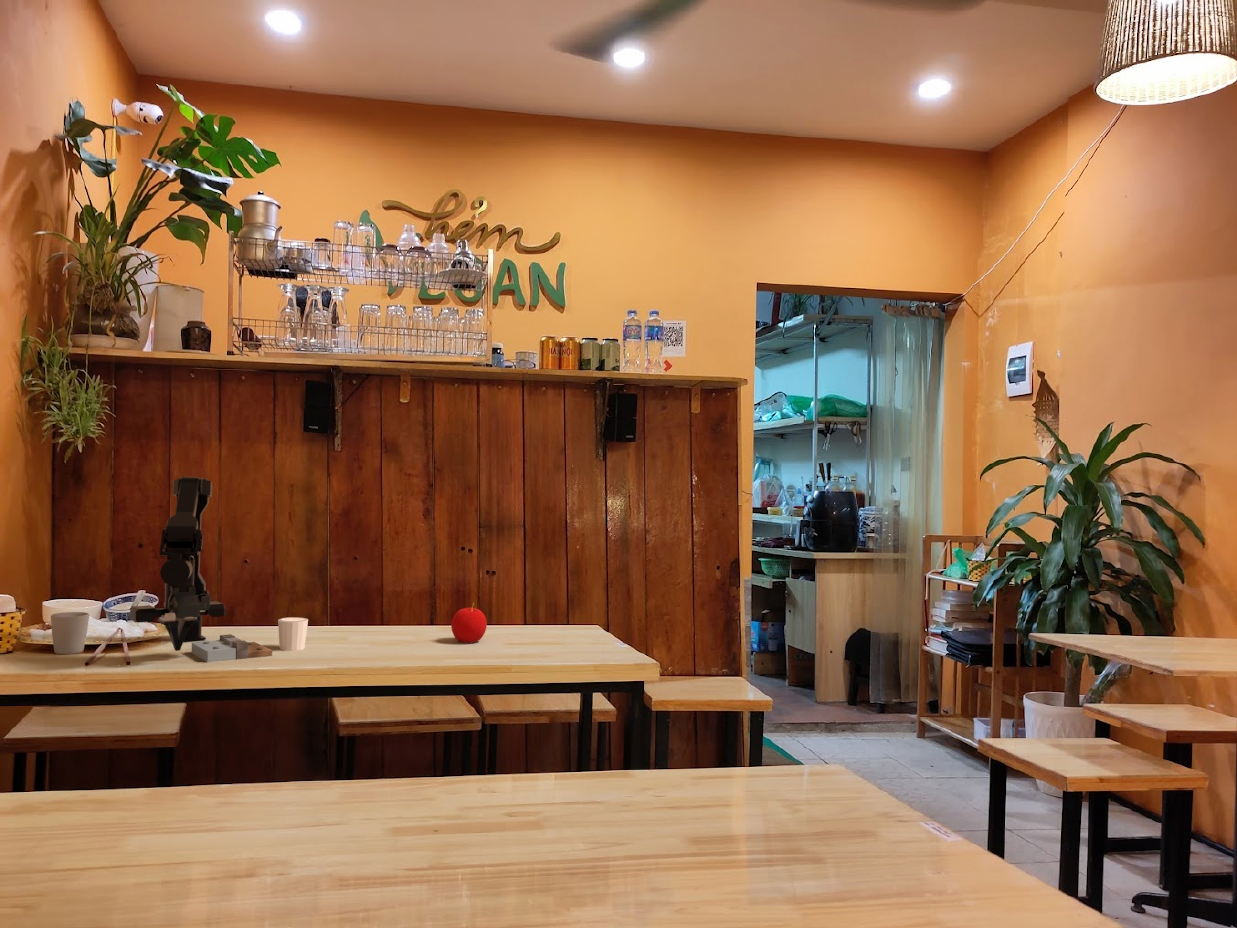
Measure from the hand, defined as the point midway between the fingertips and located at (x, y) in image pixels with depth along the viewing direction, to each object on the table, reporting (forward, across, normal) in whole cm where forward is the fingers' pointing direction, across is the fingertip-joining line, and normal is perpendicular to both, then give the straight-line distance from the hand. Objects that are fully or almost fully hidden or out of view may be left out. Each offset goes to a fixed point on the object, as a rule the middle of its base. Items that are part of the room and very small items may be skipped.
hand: (177, 650), depth 209 cm
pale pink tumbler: (+2, +26, 0) cm, 26 cm away
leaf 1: (+2, +9, 0) cm, 9 cm away
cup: (+2, -17, +21) cm, 27 cm away
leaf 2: (+2, +15, 0) cm, 15 cm away
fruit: (+2, +67, -13) cm, 68 cm away
